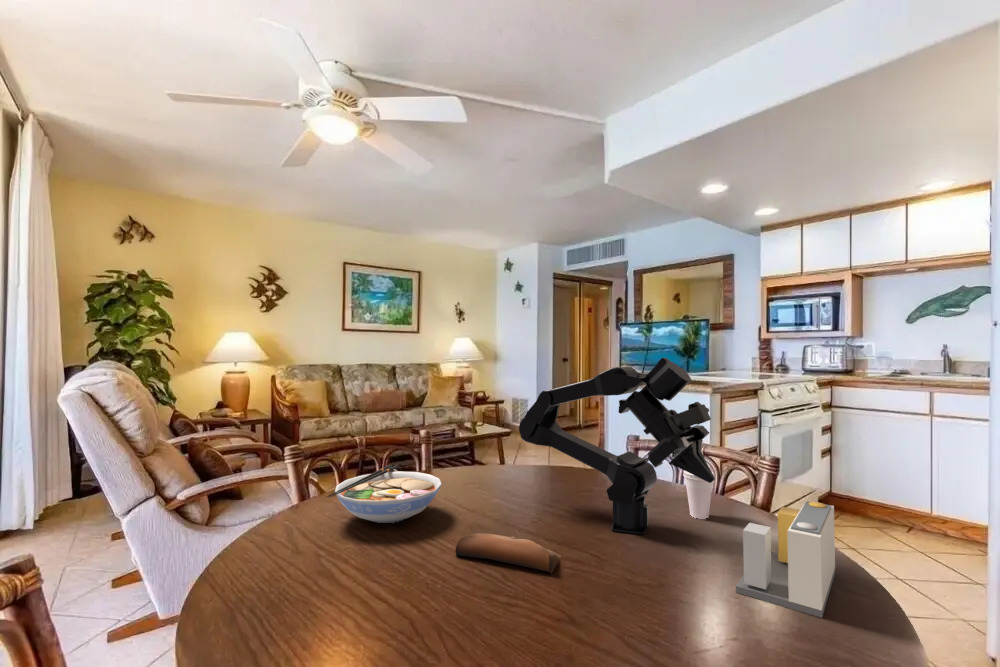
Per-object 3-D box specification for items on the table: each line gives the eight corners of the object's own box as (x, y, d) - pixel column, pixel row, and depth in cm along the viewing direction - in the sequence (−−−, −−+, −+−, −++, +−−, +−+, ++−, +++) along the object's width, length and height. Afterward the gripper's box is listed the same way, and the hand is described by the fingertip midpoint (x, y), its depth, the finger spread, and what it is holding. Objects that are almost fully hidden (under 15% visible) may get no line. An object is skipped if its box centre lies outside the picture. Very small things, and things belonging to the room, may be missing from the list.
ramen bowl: (405, 547, 92) (405, 503, 92) (306, 532, 99) (306, 491, 100) (460, 506, 115) (460, 471, 115) (377, 496, 123) (377, 463, 123)
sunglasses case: (565, 554, 88) (559, 529, 85) (555, 590, 82) (548, 564, 79) (475, 539, 95) (467, 515, 92) (460, 571, 90) (451, 546, 87)
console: (736, 592, 75) (734, 516, 75) (761, 555, 88) (759, 490, 88) (822, 617, 68) (820, 533, 68) (835, 573, 81) (833, 502, 81)
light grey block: (743, 583, 74) (743, 530, 74) (750, 573, 77) (749, 522, 78) (765, 589, 72) (765, 534, 73) (771, 579, 75) (770, 527, 76)
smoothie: (718, 522, 104) (717, 456, 104) (686, 520, 105) (685, 454, 105) (711, 512, 110) (710, 449, 110) (681, 510, 111) (680, 448, 112)
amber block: (778, 560, 82) (777, 512, 82) (783, 553, 85) (782, 506, 85) (799, 566, 80) (798, 516, 80) (803, 557, 83) (802, 510, 83)
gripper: (664, 392, 87) (731, 464, 80) (698, 385, 102) (757, 446, 94) (623, 432, 92) (683, 503, 85) (661, 420, 106) (715, 480, 99)
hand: (712, 481), depth 91 cm, fingers closed
